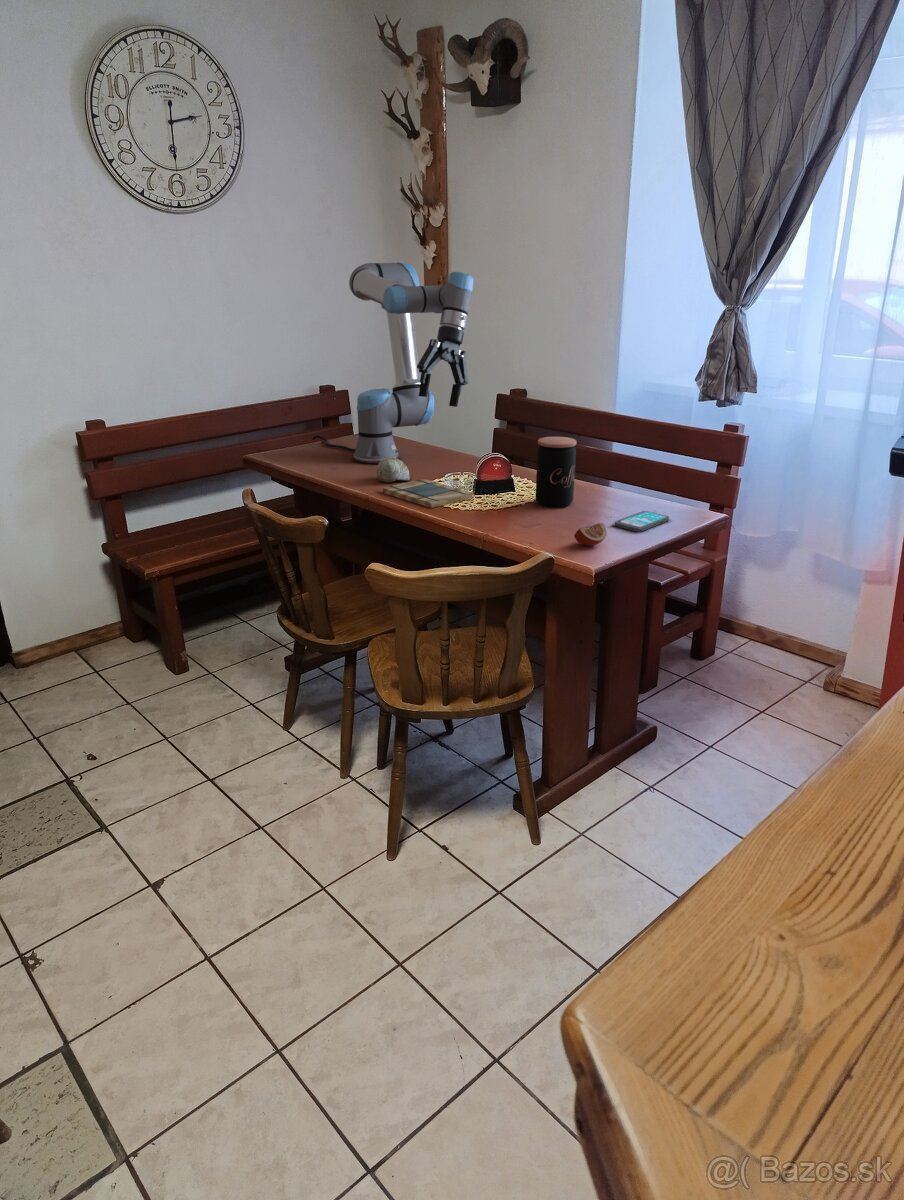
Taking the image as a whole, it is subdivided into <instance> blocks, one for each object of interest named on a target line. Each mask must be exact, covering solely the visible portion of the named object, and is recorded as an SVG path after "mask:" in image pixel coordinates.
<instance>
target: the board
mask: <svg viewBox="0 0 904 1200" xmlns="http://www.w3.org/2000/svg"><path fill="white" fill-rule="evenodd" d="M382 493H383V494H386V495H389V496H392V497H396V498H398V499H402V500H405V501H408V502H411V503H414V504H417V505H421V506H423V507H426V508H430V509H433V508H437V507H441V506H445V505H448V504H453V503H457V502H461V501H465V500H469V499H473V498H474V497H473V496H474V495H473V493H474V492H471V491H468V490H464V489H461V488H457V487H454V486H450V485H446V484H444V483H440V482H437V481H434V480H433V481H432V480H429V479H426V478H421V479H416V480H413V481H412V480H411V481H407V482H403V483H399V484H394V485H389V486H386V487H385V486H384V487H382Z"/></svg>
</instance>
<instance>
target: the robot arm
mask: <svg viewBox="0 0 904 1200" xmlns="http://www.w3.org/2000/svg"><path fill="white" fill-rule="evenodd" d="M474 281H475V280H474V277H473V276H472V275H470V274H469V273H465V272H462V271H451V272H449V274H448V278H447V280H446V283H445V284H441V285H421V284H420V278H419V276H418V273H417V270H416V268H415V267H414V266H413V265H412V264H410V263H405V262H366V263H363V264H361V265H359V266H357V267H355V269H353V271H352V272H351V274H350V276H349V280H348V285H349V290H350V291H351V293H352V295H353V296H354V297H356V298H358V299H359V300H362V301H365V302H366V301H367V302H368V301H373V302H375V303H378V304H379V305H380V307H381V309H382V310H384V311H385V312H386V318H387V325H388V332H389V334H388V335H389V341H390V342H389V343H390V349H391V357H392V362H393V371H394V378H395V384H394V385H393V386H392V389H390V388H385V387H384V388H383V387H382V388H373V389H367V390H365V391H363V392H360V393H359V394H358V395H357V398H356V399H357V400H356V401H357V402H356V411H357V431H358V433H357V434H358V437H357V438H358V439H357V442H356V446H355V448H351V447H348V446H345V445H341V444H331V443H329V440H328V439H327V438H326V437H323V436H322V435H318V434H316V435H313V437H312V438H311V439H312V440H316V439H320V440H322V441H324V443H323V444H324V446H325V447H327V448H328V447H329V448H338V449H342V450H346V451H349V452H354V454H353V458H354V461H355V462H357V463H359V464H366V465H367V464H368V465H369V464H370V465H378V464H379V463H380V462H381V461H382V460H384V459H386V458H396V459H399V452H398V448H397V446H396V442H395V440H394V437H393V429H394V428H403V427H413V426H415V427H417V426H422V425H426V424H428V423H430V421H431V420H432V418H433V416H434V413H435V397H434V394H433V392H432V390H430V389H429V388H430V382H431V377H432V374H431V373H430V372H431V371H432V370H433V369H434V368H435V367H436V366H437V365H438V364H439V362H441V361H444V362H446V363H448V365H449V367H450V371H451V373H452V377H453V381H454V383H453V384H452V388H451V392H450V399H449V402H448V403H449V404H448V406H449V407H456V408H457V407H458V404H459V399H460V396H461V394H462V389H463V386H466V385H468V384H469V379H468V378H469V377H468V369H467V360H466V359H467V358H466V357H467V350H460V346H461V345H462V344H463V341H464V335H465V332H464V331H465V329H466V324H467V319H468V314H469V310H470V305H471V299H472V294H473V291H474V290H473V289H474ZM425 313H427V314H428V313H433V314H440V319H439V325H440V326H439V327H438V331H437V337H436V339H434V338H432V339H429V342H428V346H427V348H426V349H425V351H424V353H423V355H421V358H420V360H419V356H418V349H417V341H416V334H415V327H414V318H413V314H425Z"/></svg>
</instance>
